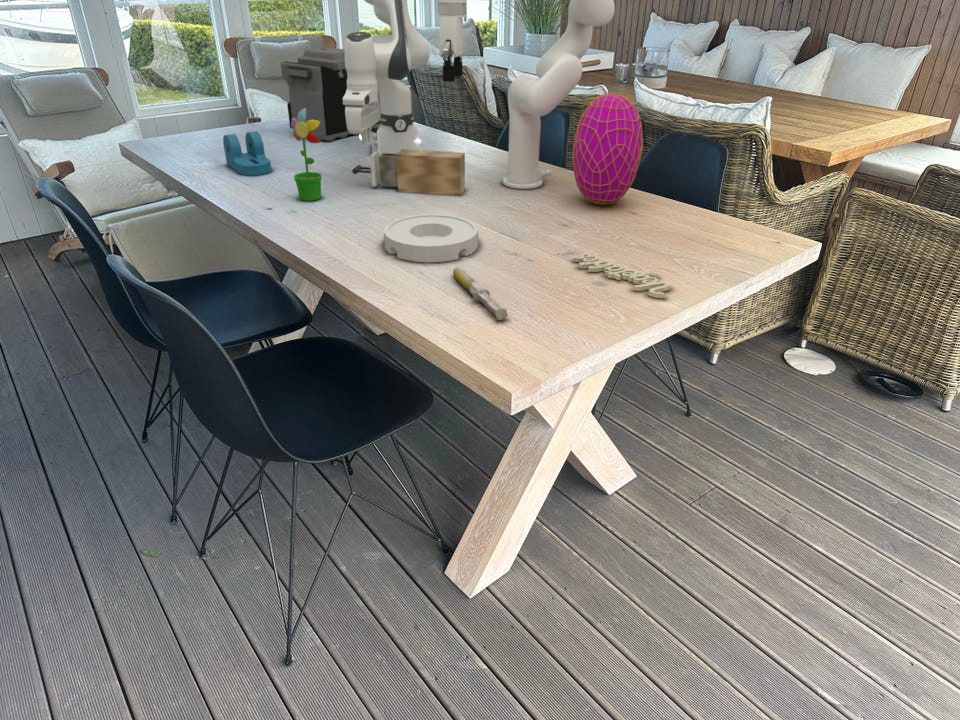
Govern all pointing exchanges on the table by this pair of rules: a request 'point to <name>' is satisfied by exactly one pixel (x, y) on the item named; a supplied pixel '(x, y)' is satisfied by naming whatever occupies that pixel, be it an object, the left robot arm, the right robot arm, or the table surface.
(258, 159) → the camera mount
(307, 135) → the potted flower
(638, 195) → the table surface
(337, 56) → the electronic device
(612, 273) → the decorative sign
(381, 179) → the drawer
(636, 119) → the decorative egg
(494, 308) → the syringe
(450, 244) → the ashtray
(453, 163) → the tan elongated box
